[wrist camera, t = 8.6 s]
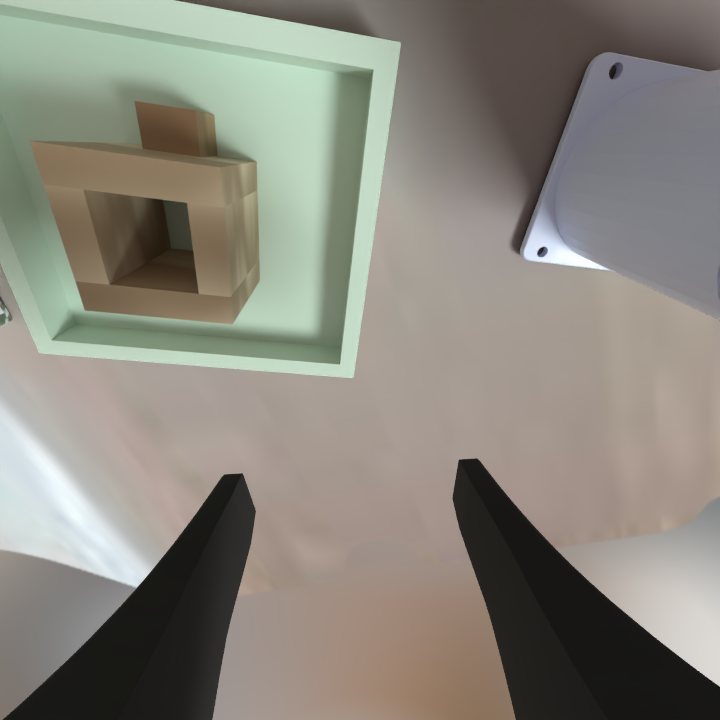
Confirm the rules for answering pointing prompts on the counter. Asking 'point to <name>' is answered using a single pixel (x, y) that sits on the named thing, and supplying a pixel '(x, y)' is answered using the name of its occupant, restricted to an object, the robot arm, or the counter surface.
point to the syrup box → (4, 314)
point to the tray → (234, 140)
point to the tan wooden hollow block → (156, 218)
